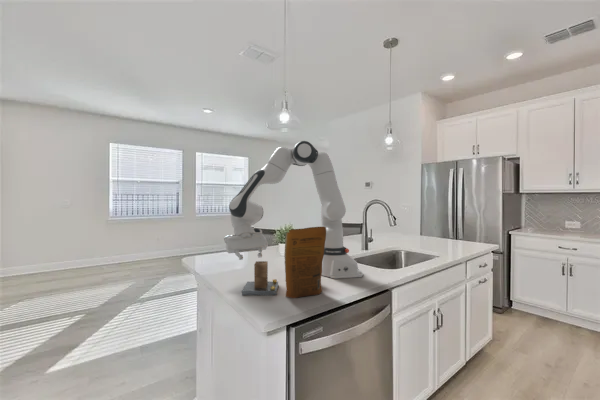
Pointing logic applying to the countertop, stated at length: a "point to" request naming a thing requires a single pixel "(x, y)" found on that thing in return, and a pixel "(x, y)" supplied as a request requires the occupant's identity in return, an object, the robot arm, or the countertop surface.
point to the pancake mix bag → (304, 261)
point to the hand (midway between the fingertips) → (251, 257)
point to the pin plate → (260, 289)
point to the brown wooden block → (260, 274)
